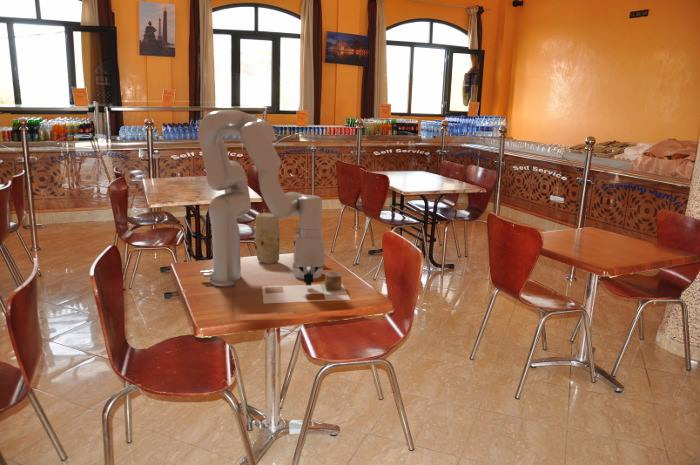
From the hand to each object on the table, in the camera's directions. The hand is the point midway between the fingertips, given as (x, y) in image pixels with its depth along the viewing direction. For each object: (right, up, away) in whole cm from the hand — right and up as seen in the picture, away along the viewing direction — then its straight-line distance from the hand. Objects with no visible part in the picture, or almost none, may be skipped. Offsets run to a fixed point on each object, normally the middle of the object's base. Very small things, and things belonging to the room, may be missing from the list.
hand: (308, 284), depth 193 cm
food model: (-19, +6, +34) cm, 39 cm away
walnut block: (+8, -1, +1) cm, 9 cm away
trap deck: (-1, -4, -4) cm, 5 cm away
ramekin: (-1, 0, +15) cm, 15 cm away
